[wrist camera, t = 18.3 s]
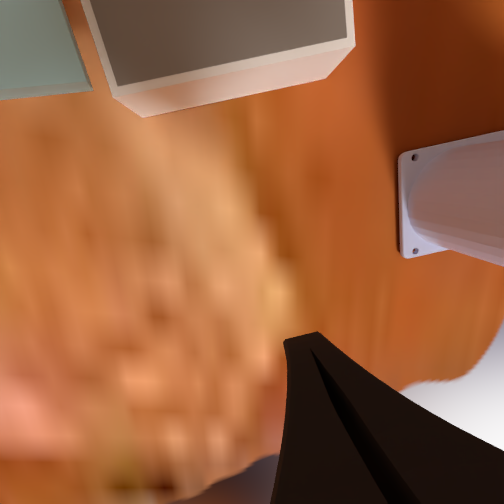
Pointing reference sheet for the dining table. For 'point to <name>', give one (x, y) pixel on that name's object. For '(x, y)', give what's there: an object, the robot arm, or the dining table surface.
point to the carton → (214, 47)
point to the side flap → (38, 51)
